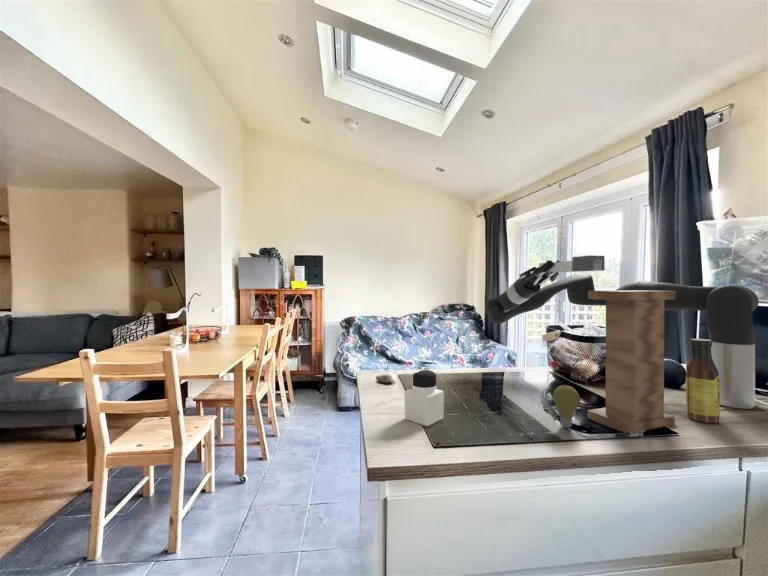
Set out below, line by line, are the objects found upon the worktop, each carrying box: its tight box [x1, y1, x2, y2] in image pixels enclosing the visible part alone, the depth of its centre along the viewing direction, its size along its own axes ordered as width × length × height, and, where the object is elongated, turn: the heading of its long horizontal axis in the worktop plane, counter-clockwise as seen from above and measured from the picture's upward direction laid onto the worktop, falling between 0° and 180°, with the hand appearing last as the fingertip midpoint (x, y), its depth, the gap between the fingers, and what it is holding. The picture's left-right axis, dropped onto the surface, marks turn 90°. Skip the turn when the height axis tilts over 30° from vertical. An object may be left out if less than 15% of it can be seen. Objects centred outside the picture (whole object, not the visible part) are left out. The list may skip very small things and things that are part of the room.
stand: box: [587, 290, 676, 434], centre depth 87 cm, size 16×10×32 cm, turn 109°
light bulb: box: [552, 384, 580, 429], centre depth 84 cm, size 6×6×10 cm
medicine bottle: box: [404, 369, 445, 427], centre depth 90 cm, size 7×7×12 cm
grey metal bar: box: [538, 255, 605, 273], centre depth 106 cm, size 5×20×4 cm, turn 19°
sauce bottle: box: [685, 338, 721, 424], centre depth 89 cm, size 7×6×20 cm
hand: (555, 262), depth 111 cm, fingers closed on grey metal bar, 3 cm apart
